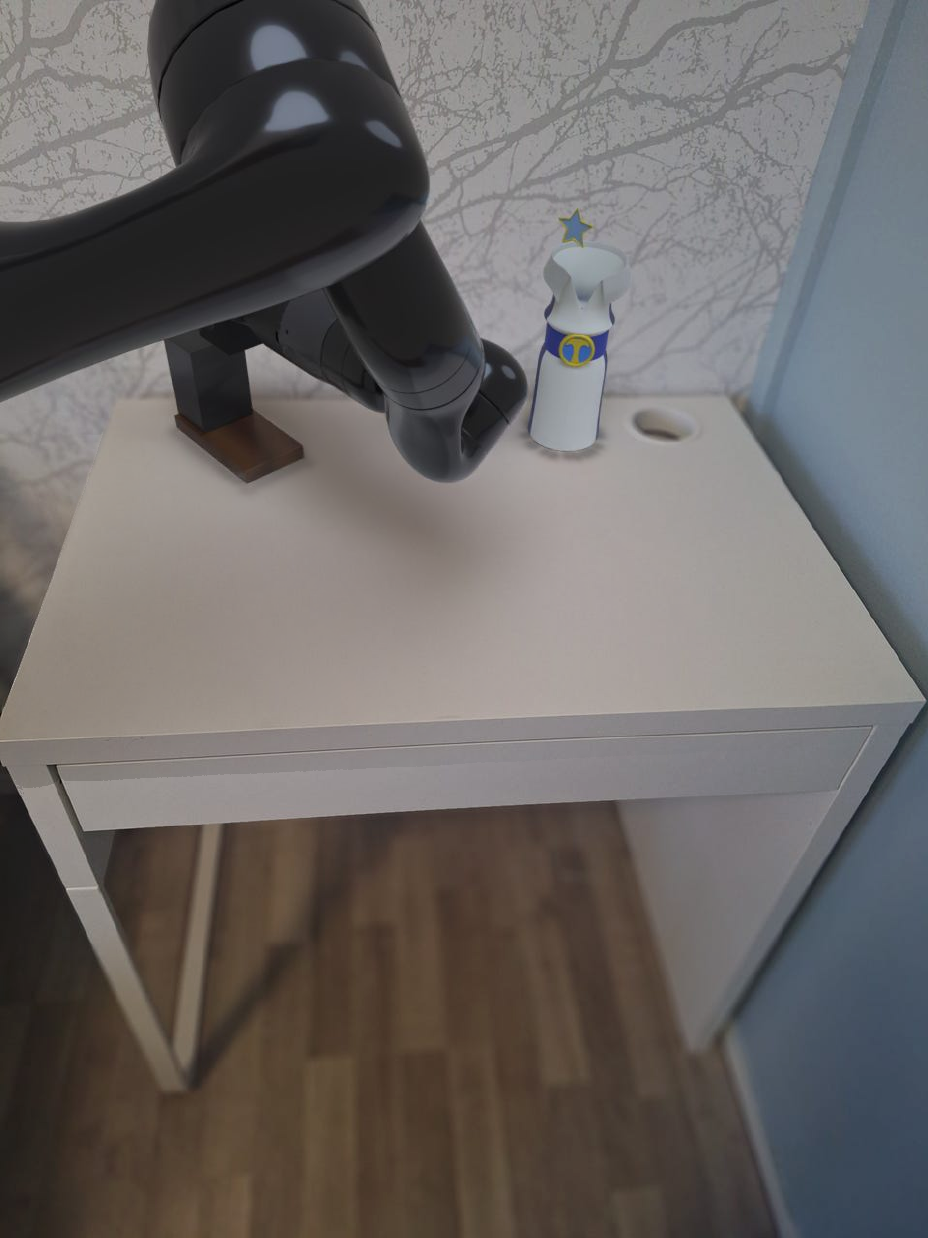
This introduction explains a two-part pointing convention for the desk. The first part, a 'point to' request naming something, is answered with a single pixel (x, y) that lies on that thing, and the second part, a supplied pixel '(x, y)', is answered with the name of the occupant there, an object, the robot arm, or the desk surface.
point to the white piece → (576, 338)
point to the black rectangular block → (231, 337)
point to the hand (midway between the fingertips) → (204, 255)
